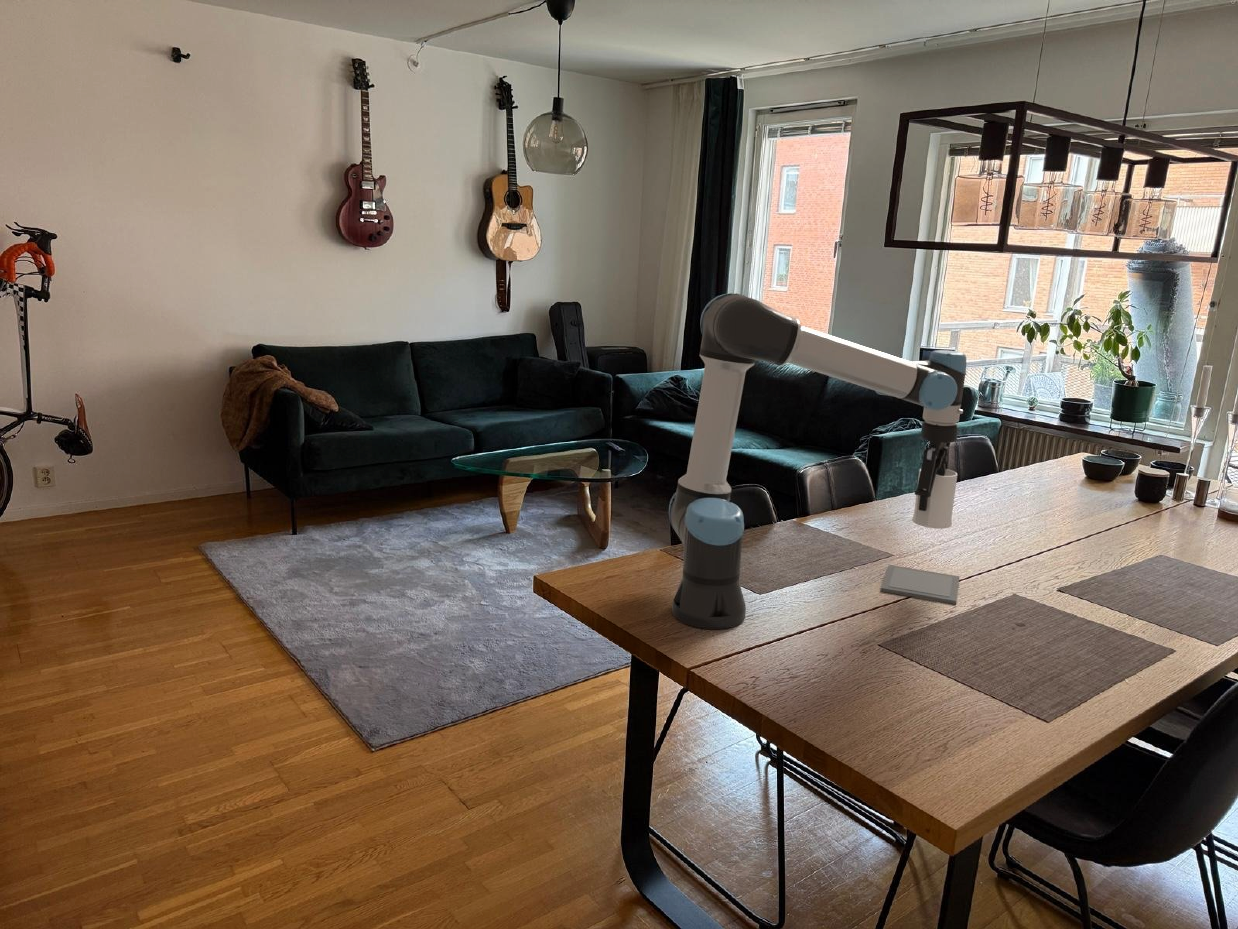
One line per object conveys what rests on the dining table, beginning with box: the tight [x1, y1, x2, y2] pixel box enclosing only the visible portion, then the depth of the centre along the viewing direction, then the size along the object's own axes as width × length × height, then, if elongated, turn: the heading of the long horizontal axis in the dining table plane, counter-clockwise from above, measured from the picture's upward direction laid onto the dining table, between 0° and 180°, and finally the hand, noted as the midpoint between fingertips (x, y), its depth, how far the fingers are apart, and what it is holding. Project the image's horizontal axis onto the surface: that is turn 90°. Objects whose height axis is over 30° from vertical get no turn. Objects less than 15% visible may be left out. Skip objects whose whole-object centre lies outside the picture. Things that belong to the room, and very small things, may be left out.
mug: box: [911, 468, 958, 530], centre depth 198 cm, size 12×8×12 cm
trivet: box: [880, 564, 960, 605], centre depth 203 cm, size 16×16×1 cm
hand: (928, 517), depth 199 cm, fingers closed on mug, 11 cm apart
